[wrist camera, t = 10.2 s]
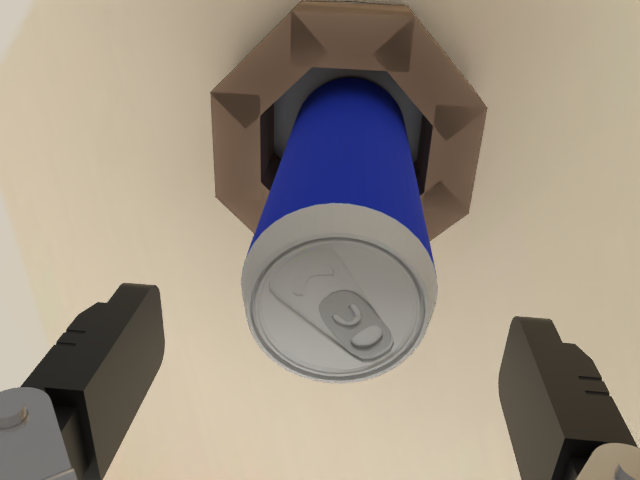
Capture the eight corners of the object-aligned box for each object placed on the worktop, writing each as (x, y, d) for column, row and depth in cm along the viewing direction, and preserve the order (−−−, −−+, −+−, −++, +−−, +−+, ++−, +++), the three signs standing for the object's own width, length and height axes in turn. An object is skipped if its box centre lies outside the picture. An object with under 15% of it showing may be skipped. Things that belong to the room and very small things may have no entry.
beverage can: (274, 121, 28) (191, 297, 14) (359, 50, 26) (353, 178, 13) (341, 198, 29) (323, 420, 16) (426, 137, 27) (483, 330, 14)
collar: (480, 7, 25) (502, 21, 21) (444, 230, 30) (457, 277, 26) (232, -6, 26) (205, 6, 22) (238, 216, 31) (218, 260, 27)
